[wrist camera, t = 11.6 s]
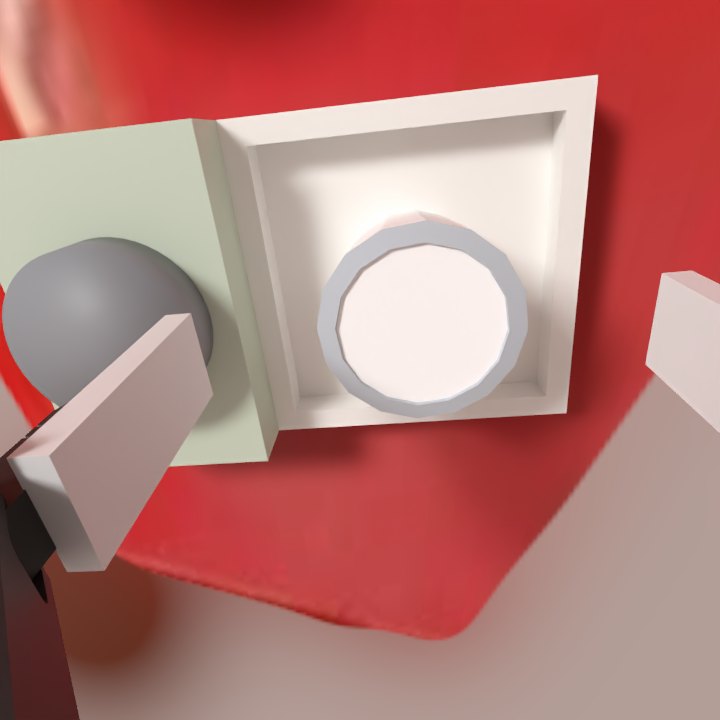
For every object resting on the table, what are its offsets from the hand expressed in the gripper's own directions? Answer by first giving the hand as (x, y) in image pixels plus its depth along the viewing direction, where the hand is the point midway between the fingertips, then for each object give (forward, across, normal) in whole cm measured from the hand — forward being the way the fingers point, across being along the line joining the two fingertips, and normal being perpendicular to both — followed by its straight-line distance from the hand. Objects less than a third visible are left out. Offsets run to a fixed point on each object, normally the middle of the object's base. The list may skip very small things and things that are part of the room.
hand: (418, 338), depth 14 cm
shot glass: (+9, 0, -1) cm, 9 cm away
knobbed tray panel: (+10, -4, -1) cm, 11 cm away
